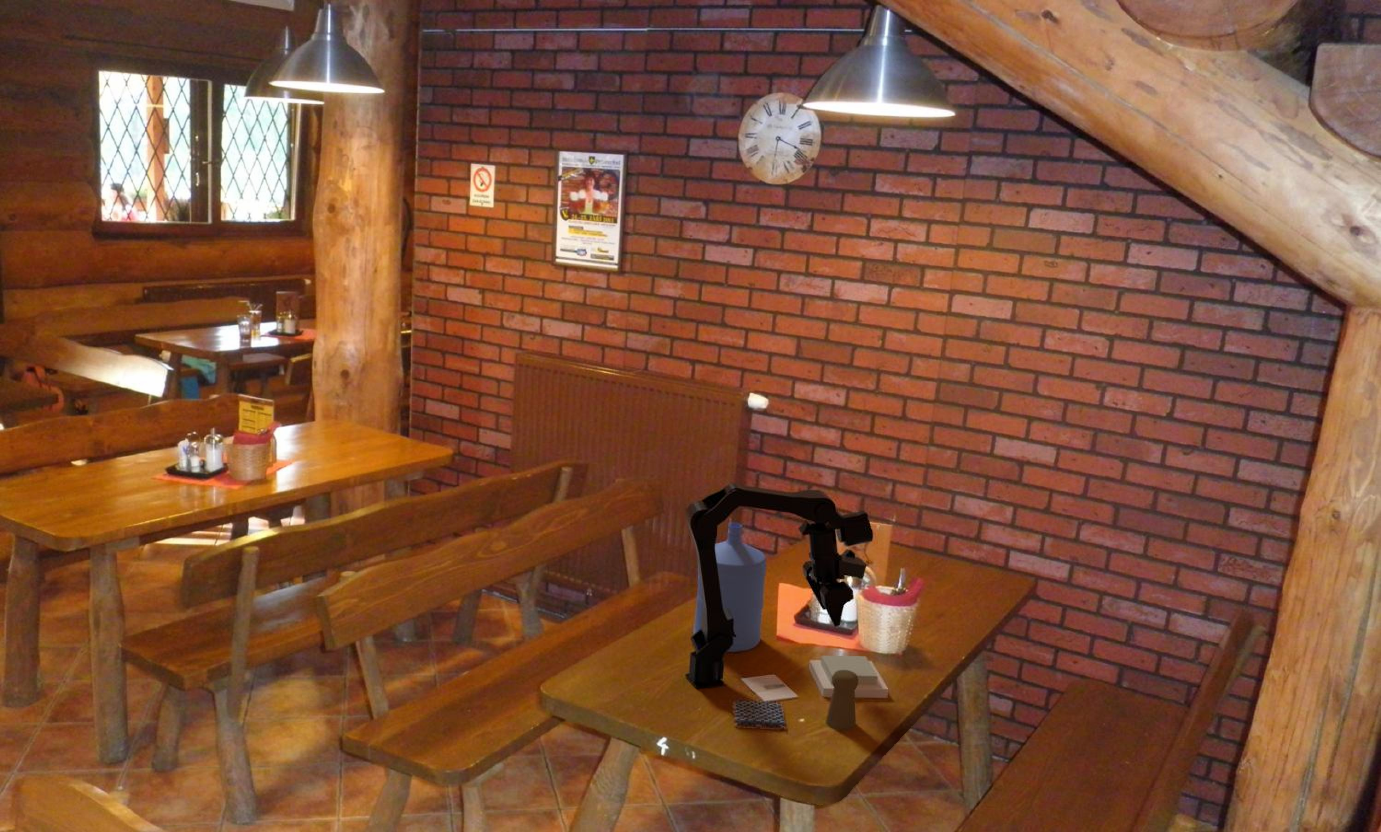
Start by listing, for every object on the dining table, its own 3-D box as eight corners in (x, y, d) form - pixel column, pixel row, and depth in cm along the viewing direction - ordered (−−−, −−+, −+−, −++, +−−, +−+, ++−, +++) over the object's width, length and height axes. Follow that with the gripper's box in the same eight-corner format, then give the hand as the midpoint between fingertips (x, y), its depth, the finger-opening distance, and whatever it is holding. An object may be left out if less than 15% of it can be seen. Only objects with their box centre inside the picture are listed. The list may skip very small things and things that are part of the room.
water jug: (772, 648, 270) (782, 532, 264) (711, 657, 263) (720, 538, 257) (740, 623, 284) (749, 512, 278) (681, 630, 277) (689, 517, 271)
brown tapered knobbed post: (854, 732, 233) (860, 681, 231) (824, 727, 234) (829, 676, 232) (856, 718, 239) (862, 668, 236) (827, 714, 240) (832, 664, 238)
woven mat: (781, 708, 242) (782, 699, 242) (786, 733, 232) (787, 723, 231) (731, 705, 242) (732, 696, 241) (734, 730, 231) (734, 721, 231)
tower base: (822, 696, 247) (824, 679, 247) (809, 668, 261) (810, 651, 260) (887, 697, 249) (889, 680, 248) (870, 669, 263) (872, 652, 262)
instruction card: (762, 702, 243) (763, 700, 243) (740, 679, 253) (740, 678, 253) (798, 697, 246) (798, 696, 246) (774, 675, 256) (774, 673, 256)
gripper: (874, 557, 241) (880, 627, 245) (847, 529, 259) (854, 594, 263) (821, 567, 240) (829, 637, 243) (798, 538, 257) (805, 603, 261)
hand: (831, 617), depth 253 cm, fingers open, 9 cm apart
